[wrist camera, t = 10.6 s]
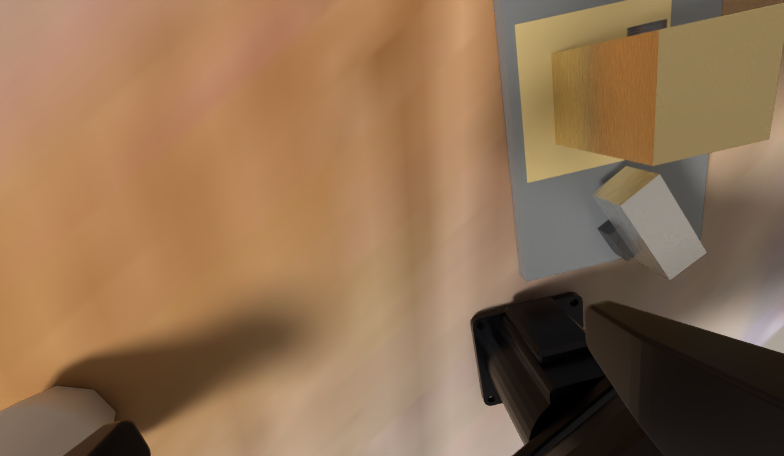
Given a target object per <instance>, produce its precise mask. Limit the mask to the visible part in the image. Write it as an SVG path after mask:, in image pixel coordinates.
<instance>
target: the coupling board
mask: <svg viewBox="0 0 784 456" xmlns="http://www.w3.org/2000/svg"><path fill="white" fill-rule="evenodd" d="M493 1H494V11H495V21H496V32H497V42H498V53H499V63H500V73H501V84H502V94H503V104H504V115H505V125H506V136H507V146H508V156H509V167H510V177H511V187H512V198H513V208H514V219H515V229H516V239H517V250H518V260H519V270H520V276H521V277H522V278H523V279H524V280H525V281H526V282H527V281H531V280H535V279H540V278H544V277H548V276H552V275H556V274H560V273H564V272H568V271H573V270H577V269H581V268H585V267H589V266H593V265H597V264H601V263H605V262H610V261H614V260H618V259H622V257H620V256H618V255H616V254H615V253H614V252H613V250H612V249H611V248H610V246H609V245H608V243H607V242H606V241H605V239H604V238H603V236H602V235H601V234H600V232H599V231H598V229H597V228H598V227H600V226H601V225H602V224H603V223H605V222H606V221H607V220H608V218H607V216H606V215H605V213H604V212H603V210H602V209H601V207H600V206H599V205H598V203H597V202H596V200H595V199H594V197H593V196H592V195H591V194H593V193H594V192H595V191H596V190H597V189H599V188H600V187H601V186H602V185H604V184H605V183H606V182H607V181H608V180H610V179H611V178H612V177H613V176H615V175H616V174H617V173H618V172H619V171H621V170H622V169H623V168H624V167H626V166H628V167H633V168H637V169H641V170H645V171H649V172H653V173H657V174H660V175H661V177H662V179H663V180H664V182H665V184H666V185H667V187H668V189H669V190H670V192H671V194H672V195H673V197H674V199H675V200H676V202H677V204H678V205H679V207H680V209H681V210H682V212H683V214H684V215H685V217H686V219H687V220H688V222H689V224H690V225H691V227H692V229H693V230H694V232H695V234H696V235H697V237H698V239H699V240H700V239H701V229H702V219H703V208H704V197H705V186H706V176H707V165H708V154H709V153H707V154H703V155H699V156H694V157H690V158H686V159H681V160H677V161H673V162H668V163H664V164H660V165H655V166H651V165H646V164H642V163H637V162H633V161H628V160H624V159H619V158H614V157H610V156H605V155H601V154H596V153H592V152H587V151H583V150H578V149H574V148H569V147H565V146H560V145H556V142H555V121H554V100H553V79H552V58H551V54H553V53H557V52H562V51H566V50H570V49H575V48H579V47H584V46H588V45H593V44H597V43H602V42H606V41H611V40H615V39H620V38H624V37H627V28H629V27H633V26H638V25H642V24H646V23H650V22H655V21H659V20H664V19H667V28H669V27H674V26H678V25H683V24H687V23H692V22H697V21H701V20H706V19H710V18H715V17H720V16H721V15H722V4H723V0H493Z"/></svg>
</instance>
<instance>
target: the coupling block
mask: <svg viewBox="0 0 784 456" xmlns="http://www.w3.org/2000/svg"><path fill="white" fill-rule="evenodd" d="M783 44H784V3H779V4H775V5H770V6H765V7H761V8H756V9H752V10H747V11H743V12H738V13H733V14H729V15H724V16H720V17H715V18H710V19H706V20H701V21H697V22H692V23H687V24H683V25H678V26H674V27H669V28H667V19H664V20H659V21H655V22H650V23H646V24H642V25H638V26H633V27H629V28H627V37H624V38H620V39H615V40H611V41H606V42H602V43H597V44H593V45H588V46H584V47H579V48H575V49H570V50H566V51H562V52H557V53H553V54H551V58H552V79H553V100H554V121H555V142H556V145H560V146H565V147H569V148H574V149H578V150H583V151H587V152H592V153H596V154H601V155H605V156H610V157H614V158H619V159H624V160H628V161H633V162H637V163H642V164H646V165H651V166H655V165H660V164H664V163H668V162H673V161H677V160H681V159H686V158H690V157H694V156H699V155H703V154H707V153H712V152H716V151H720V150H725V149H729V148H733V147H737V146H742V145H746V144H750V143H755V142H759V141H763V140H768V139H769V137H770V130H771V124H772V117H773V110H774V104H775V97H776V91H777V84H778V77H779V71H780V64H781V58H782V51H783Z"/></svg>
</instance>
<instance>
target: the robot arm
mask: <svg viewBox="0 0 784 456" xmlns="http://www.w3.org/2000/svg"><path fill="white" fill-rule="evenodd" d="M573 299H574V301H573V302H572V303H570V302H571V301H572V300H573ZM480 322H483V323H482V325H480V326H477V324H478V323H480ZM585 328H586V331H585V330H584V329H583V301H582V298H581V297H580V296H579V295H578V294H577V293H575V292H568V293H564V294H560V295H556V296H552V297H545V298H541V299H537V300H533V301H529V302H525V303H521V304H517V305H513V306H509V307H507V308H503V309H499V310H494V311H490V312H486V313H482V314H478V315H476V316H474V317H473V318H472V319H471V330H472V337H473V343H474V349H475V356H476V362H477V368H478V375H479V381H480V387H481V394H482V398H483V400H484V402H485V404H486V405H489V406H492V405H497V404H500V403H503V404H504V406H505V408H506V410H507V412H508V414H509V416H510V418H511V420H512V422H513V424H514V426H515V428H516V430H517V432H518V434H519V436H520V438H521V439H522V441H523V443H524V446H523V447H522V448H521V449H519V450H518V451H517V452H516V453H515V454H514V455H512V456H784V353H780V352H777V351H774V350H770V349H767V348H764V347H760V346H757V345H754V344H751V343H747V342H744V341H741V340H737V339H734V338H731V337H727V336H724V335H721V334H717V333H714V332H711V331H707V330H704V329H701V328H698V327H694V326H691V325H688V324H684V323H681V322H678V321H674V320H671V319H668V318H664V317H661V316H658V315H655V314H651V313H648V312H645V311H641V310H638V309H635V308H631V307H628V306H625V305H621V304H618V303H615V302H612V301H602V302H598V303H594V304H590V305H588V306H587V307H586V310H585ZM491 396H492V397H491ZM489 397H490V398H489ZM63 456H151V452H150V449H149V446H148V445H147V443H146V441H145V440H144V438H143V436H142V435H141V433H140V431H139V430H138V428H137V427H136V425H135V423H134V422H133V421H131V420H129V419H124V420H120V421H116V422H111V423H108V424H105V425H103V426H102V427H100V428H99V429H98V430H96V431H95V432H94V433H92V434H91V435H90V436H88V437H87V438H86V439H84V440H83V441H82V442H80V443H79V444H78V445H76V446H75V447H74V448H73V449H71V450H70V451H69V452H67V453H66V454H65V455H63Z"/></svg>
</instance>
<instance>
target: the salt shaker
mask: <svg viewBox="0 0 784 456" xmlns="http://www.w3.org/2000/svg"><path fill="white" fill-rule="evenodd" d="M115 414H116V411H115V410H114V409H113V408H112V407H111V406H110V405H109V404H108V403H107V402H106V401H105V400H104V399H103V398H102V397H101V396H100V395H99V394H98V393H97V392H96V391H95V390H93V389H84V388H74V387H64V386H55V387H52V388H50V389H48V390H45V391H43V392H41V393H39V394H36V395H34V396H32V397H29V398H27V399H25V400H22V401H20V402H18V403H16V404H14V405H12V406H10V407H8V408H6V409H4V410H2V411H0V456H63V455H65V454H66V453H67V452H69V451H70V450H71V449H73V448H74V447H75V446H76V445H78V444H79V443H80V442H82V441H83V440H84V439H86V438H87V437H88V436H90V435H91V434H92V433H94V432H95V431H96V430H98V429H99V428H100V427H102V426H103V425H105V424H108V423H111V422H114V418H115Z"/></svg>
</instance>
